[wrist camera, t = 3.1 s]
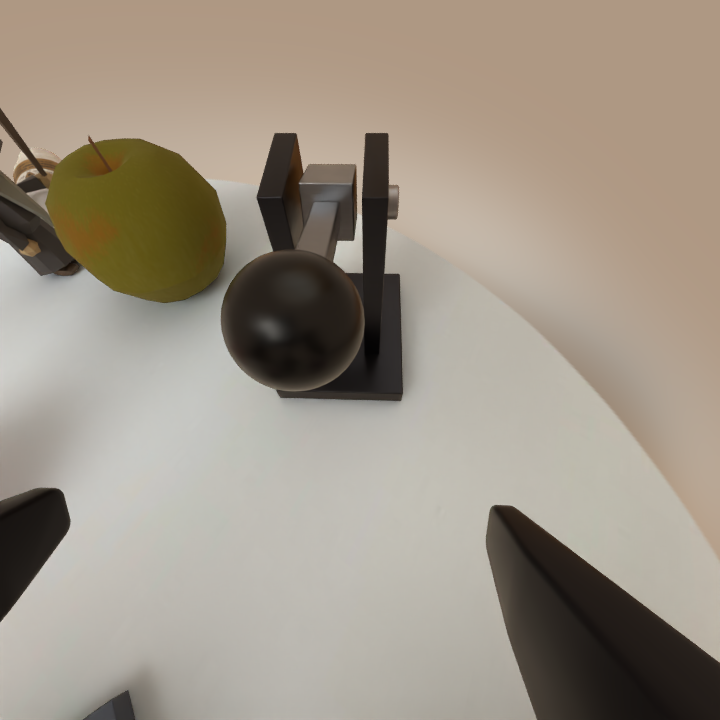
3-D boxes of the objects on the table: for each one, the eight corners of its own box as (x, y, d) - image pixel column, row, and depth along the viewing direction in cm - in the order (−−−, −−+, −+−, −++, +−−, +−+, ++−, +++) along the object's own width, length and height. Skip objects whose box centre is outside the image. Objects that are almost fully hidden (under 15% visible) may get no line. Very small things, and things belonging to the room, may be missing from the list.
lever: (362, 422, 9) (362, 303, 6) (223, 418, 9) (170, 299, 6) (370, 229, 18) (371, 148, 15) (301, 228, 18) (291, 148, 15)
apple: (259, 241, 30) (208, 95, 20) (218, 333, 25) (128, 201, 16) (152, 229, 31) (57, 85, 22) (94, 315, 26) (-60, 181, 17)
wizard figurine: (93, 285, 28) (-73, 123, 17) (19, 298, 27) (-199, 139, 17) (106, 217, 32) (-22, 52, 21) (42, 228, 31) (-123, 63, 21)
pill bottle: (3, 196, 27) (-5, 149, 30) (47, 242, 30) (35, 195, 34) (65, 178, 28) (50, 135, 31) (100, 224, 32) (83, 181, 35)
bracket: (401, 401, 23) (434, 253, 11) (280, 398, 23) (196, 250, 12) (398, 284, 27) (420, 99, 16) (298, 282, 28) (252, 100, 17)
